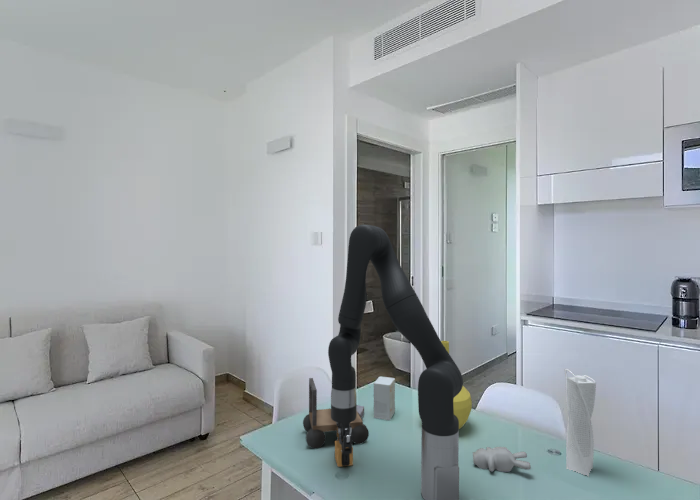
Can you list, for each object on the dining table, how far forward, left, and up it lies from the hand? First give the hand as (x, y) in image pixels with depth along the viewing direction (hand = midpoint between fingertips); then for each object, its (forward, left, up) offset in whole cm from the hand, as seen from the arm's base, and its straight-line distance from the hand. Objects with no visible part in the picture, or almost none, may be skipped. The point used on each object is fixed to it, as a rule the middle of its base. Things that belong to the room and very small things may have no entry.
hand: (343, 459), depth 115 cm
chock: (0, 0, 0) cm, 0 cm away
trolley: (+15, 0, -1) cm, 15 cm away
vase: (+15, -39, -1) cm, 42 cm away
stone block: (+28, -7, -1) cm, 29 cm away
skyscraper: (-17, -65, -1) cm, 67 cm away
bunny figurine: (-12, -43, -1) cm, 45 cm away
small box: (+28, -21, -1) cm, 35 cm away
